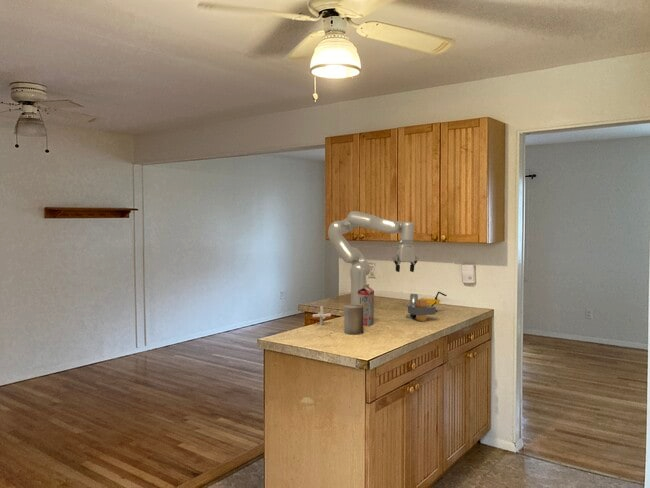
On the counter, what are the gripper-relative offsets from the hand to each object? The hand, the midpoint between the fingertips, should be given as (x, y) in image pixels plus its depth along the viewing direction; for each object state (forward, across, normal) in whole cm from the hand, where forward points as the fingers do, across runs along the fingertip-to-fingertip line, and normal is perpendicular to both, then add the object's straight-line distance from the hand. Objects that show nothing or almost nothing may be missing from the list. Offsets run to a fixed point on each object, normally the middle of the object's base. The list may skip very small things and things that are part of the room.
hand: (404, 271), depth 297 cm
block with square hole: (+27, +5, -9) cm, 29 cm away
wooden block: (+26, +5, -13) cm, 30 cm away
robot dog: (+27, +27, +8) cm, 39 cm away
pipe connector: (+29, -53, -4) cm, 61 cm away
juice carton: (+28, -31, -13) cm, 44 cm away
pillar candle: (+28, -45, -28) cm, 60 cm away
